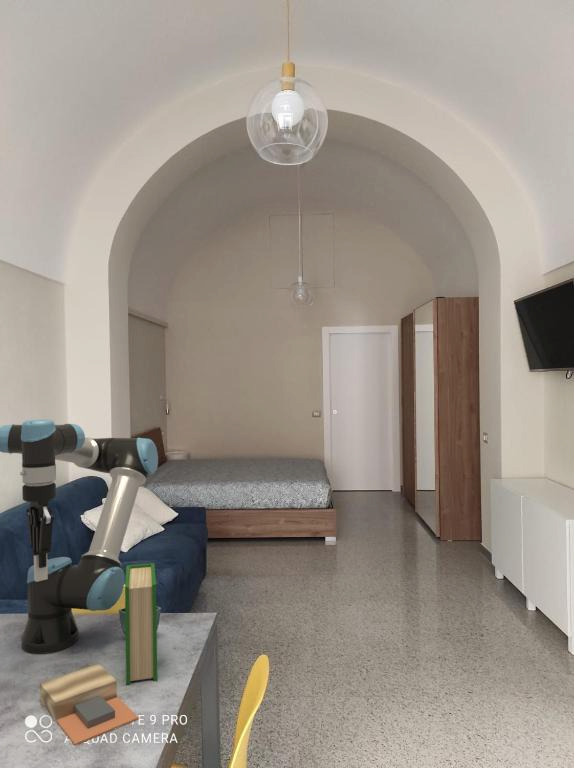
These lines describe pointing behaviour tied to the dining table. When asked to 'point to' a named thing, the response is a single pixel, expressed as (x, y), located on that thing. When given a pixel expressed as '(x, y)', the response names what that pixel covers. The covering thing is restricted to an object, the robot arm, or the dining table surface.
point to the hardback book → (140, 622)
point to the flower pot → (122, 618)
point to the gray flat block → (94, 711)
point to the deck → (76, 690)
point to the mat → (81, 733)
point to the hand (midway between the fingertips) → (41, 579)
